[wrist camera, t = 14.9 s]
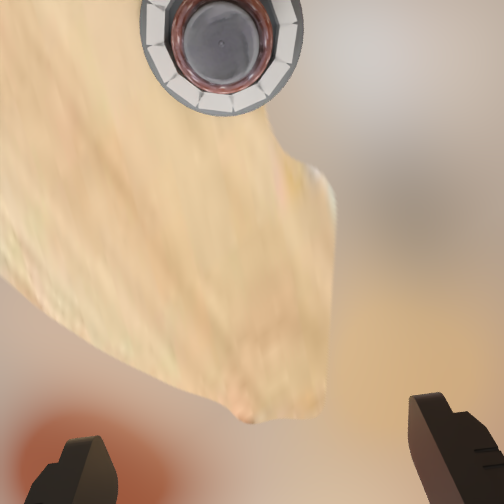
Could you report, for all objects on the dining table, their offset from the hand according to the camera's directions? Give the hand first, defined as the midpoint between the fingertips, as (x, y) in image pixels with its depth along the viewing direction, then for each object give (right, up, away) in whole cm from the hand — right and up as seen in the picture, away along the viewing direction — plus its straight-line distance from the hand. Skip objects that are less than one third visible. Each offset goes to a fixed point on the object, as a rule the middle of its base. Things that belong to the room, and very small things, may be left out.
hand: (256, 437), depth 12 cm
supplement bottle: (-2, +21, +22) cm, 30 cm away
